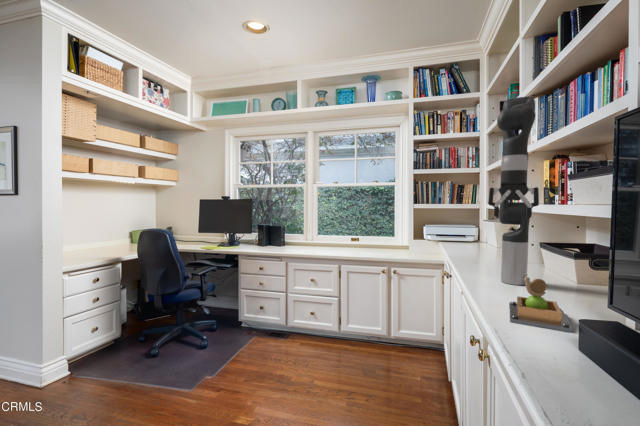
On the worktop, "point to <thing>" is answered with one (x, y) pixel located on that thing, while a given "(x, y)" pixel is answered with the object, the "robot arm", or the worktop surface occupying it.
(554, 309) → the socket plate
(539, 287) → the snail figurine
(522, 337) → the worktop surface
